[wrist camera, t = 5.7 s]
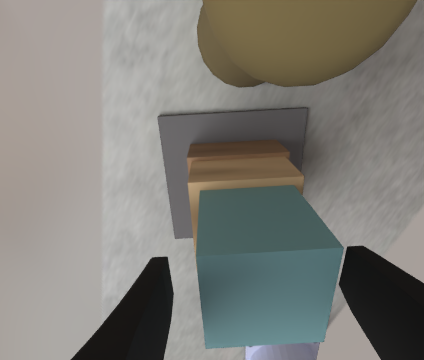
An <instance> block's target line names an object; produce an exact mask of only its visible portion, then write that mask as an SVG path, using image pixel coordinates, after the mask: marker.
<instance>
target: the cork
mask: <svg viewBox="0 0 424 360" xmlns="http://www.w3.org/2000/svg"><path fill="white" fill-rule="evenodd" d="M416 2H417V0H203V6H202V8H201V11H200V16H199V20H198V25H197V35H198V46H199V49H200V52H201V55H202V58H203V61H204V63H205V64H206V65H207V67H208V68H209V69H210V71H211V72H212V73H213V75H215V76H216V77H217V78H219V79H220V80H222V81H223V82H224V83H226V84H230V85H233V86H236V87H254V86H256V85H259V84H261V83H264V82H268V83H272V84H275V85H278V86H283V87H291V86H309V85H316V84H318V83H321V82H323V81H326V80H329V79H331V78H334V77H336V76H339V75H341V74H344V73H346V72H348V71H350V70H352V69H353V68H355V67H356V66H357V65H359V64H360V63H361V62H363V61H364V60H365V59H367V58H368V57H369V56H371V55H372V54H373V53H375V52H376V51H377V50H379V49H380V48H381V47H382V46H383V45H384V44H385V43H386V42H387V40H388V39H389V38H390V37H391V35H392V34H393V33H394V32H395V31H396V29H397V28H398V27H399V26H400V24H401V23H402V22H403V21H404V20H405V18H406V17H407V16H408V15H409V13H410V11H411V10H412V8H413V7H414V5H415V3H416Z"/></svg>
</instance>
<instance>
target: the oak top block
mask: <svg viewBox="0 0 424 360" xmlns="http://www.w3.org/2000/svg"><path fill="white" fill-rule="evenodd" d="M303 184H304V175H303V174H302V173H301V172H300V171H299V170H298V169H297V168H296V167H295V166H294V165H293V164H292V163H291V162H290V161H289V160H288V159H287V158H286V157H285V156H284V157H266V158H248V159H230V160H212V161H194V162H191V167H190V173H189V178H188V191H189V200H190V210H191V220H192V230H193V239H194V249H195V259H196V243H197V227H198V211H199V194H200V191H201V190H217V189H234V188H250V187H267V186H283V185H294V186H295V187H296V188H297V190H298V191H299V192H300V193H301V195H302V193H303ZM196 268H197V264H196Z"/></svg>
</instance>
